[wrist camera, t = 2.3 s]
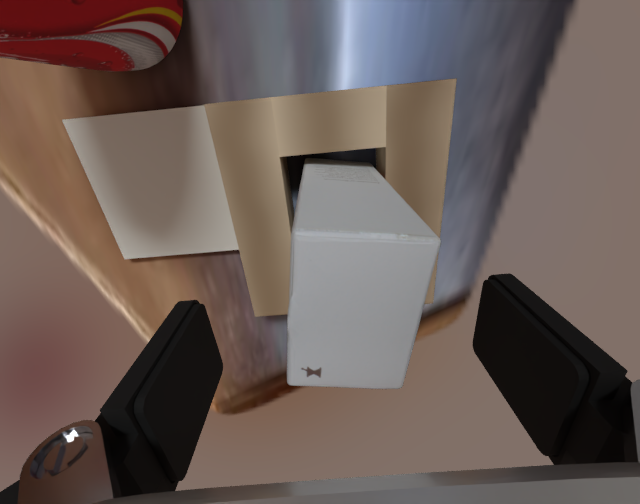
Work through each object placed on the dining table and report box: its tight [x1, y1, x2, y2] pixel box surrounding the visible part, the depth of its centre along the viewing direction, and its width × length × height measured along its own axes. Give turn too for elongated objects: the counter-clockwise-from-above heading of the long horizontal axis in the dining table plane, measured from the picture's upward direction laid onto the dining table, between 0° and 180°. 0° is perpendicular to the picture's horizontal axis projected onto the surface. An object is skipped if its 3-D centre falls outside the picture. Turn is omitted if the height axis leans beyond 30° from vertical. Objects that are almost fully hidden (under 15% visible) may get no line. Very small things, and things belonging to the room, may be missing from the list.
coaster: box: [62, 105, 239, 259], centre depth 19 cm, size 9×9×1 cm
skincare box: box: [287, 158, 441, 389], centre depth 14 cm, size 6×4×12 cm
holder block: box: [204, 78, 457, 317], centre depth 18 cm, size 12×13×3 cm
